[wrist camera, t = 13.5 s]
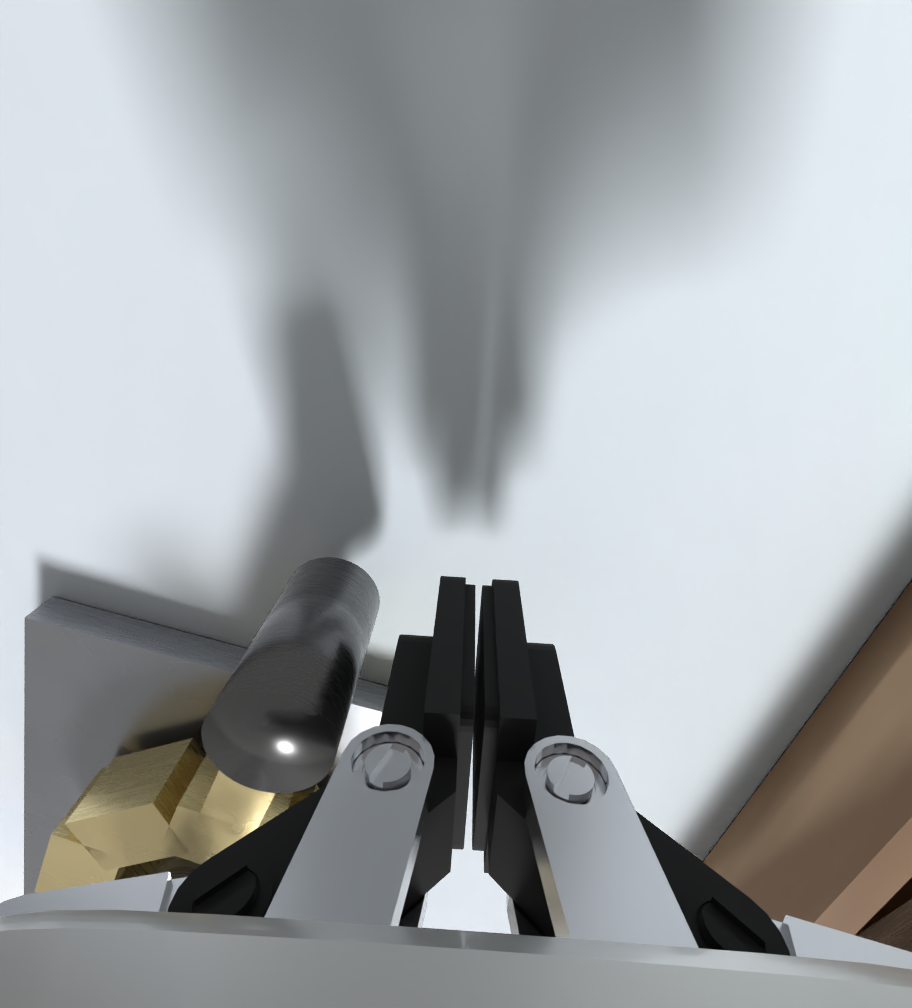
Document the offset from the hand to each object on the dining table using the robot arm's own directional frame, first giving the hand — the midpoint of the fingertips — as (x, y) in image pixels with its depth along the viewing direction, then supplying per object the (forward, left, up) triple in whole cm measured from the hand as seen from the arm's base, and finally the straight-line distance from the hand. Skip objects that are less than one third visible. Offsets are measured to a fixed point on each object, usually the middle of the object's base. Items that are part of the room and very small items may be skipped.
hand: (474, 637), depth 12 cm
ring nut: (+4, +7, -1) cm, 8 cm away
